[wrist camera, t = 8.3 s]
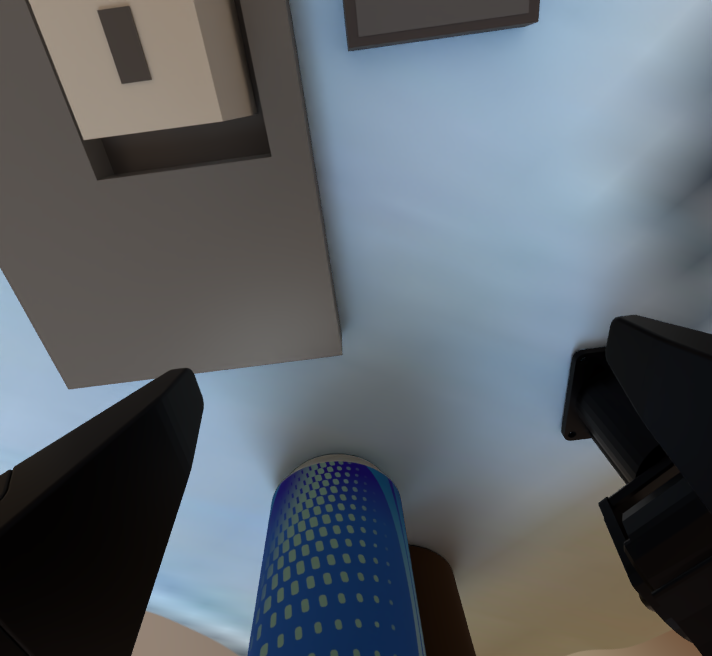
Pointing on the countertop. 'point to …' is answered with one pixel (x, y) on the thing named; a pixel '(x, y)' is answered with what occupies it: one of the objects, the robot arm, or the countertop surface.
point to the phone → (430, 19)
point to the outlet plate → (165, 221)
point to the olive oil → (439, 605)
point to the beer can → (336, 566)
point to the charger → (147, 62)
